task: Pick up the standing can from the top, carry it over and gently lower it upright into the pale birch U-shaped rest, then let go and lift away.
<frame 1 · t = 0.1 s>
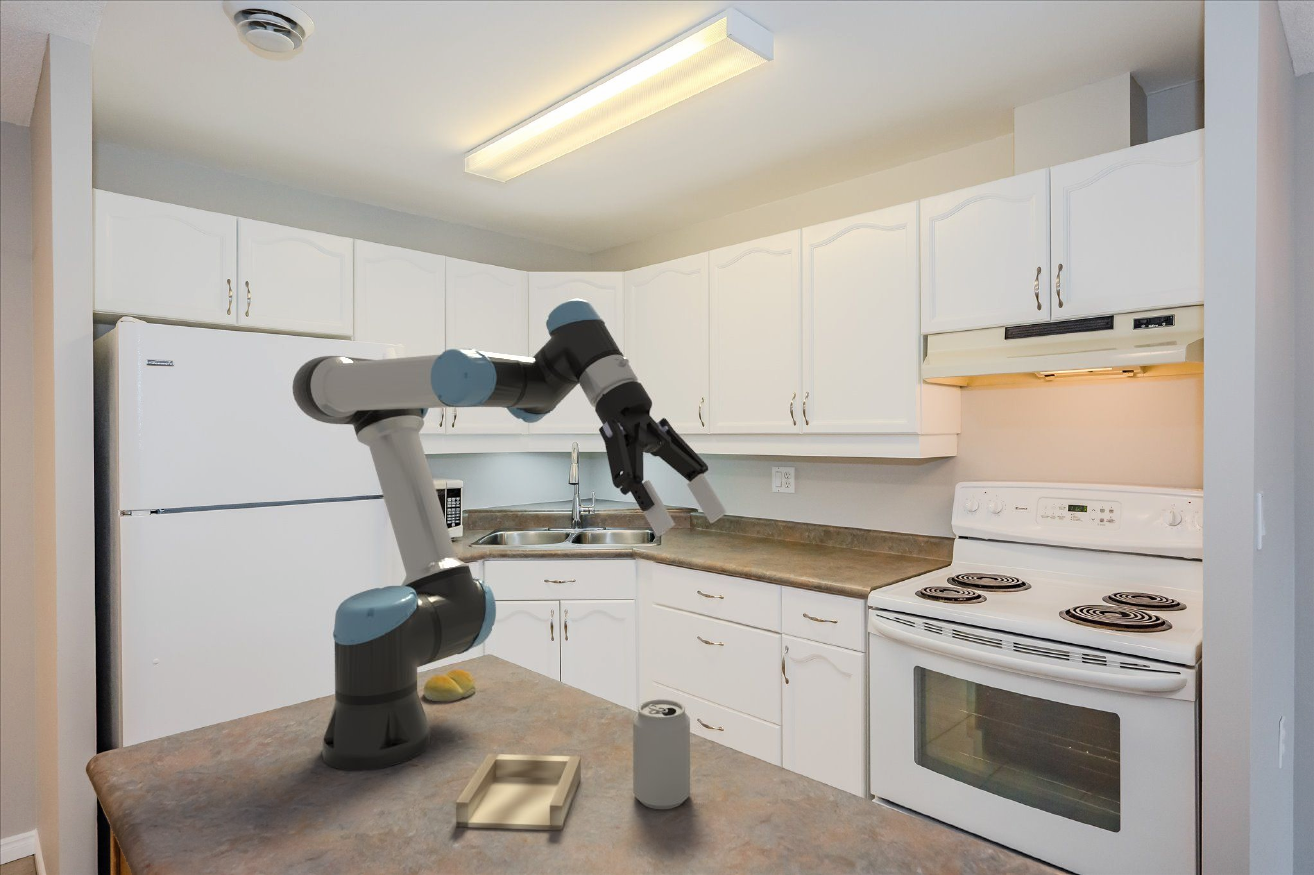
hand: (694, 524, 94), 36 cm above the countertop, tool tilted 35°, fingers open, 13 cm apart
can: (661, 799, 94), on the countertop
can rest: (522, 800, 93), on the countertop
bread roll: (450, 695, 132), on the countertop
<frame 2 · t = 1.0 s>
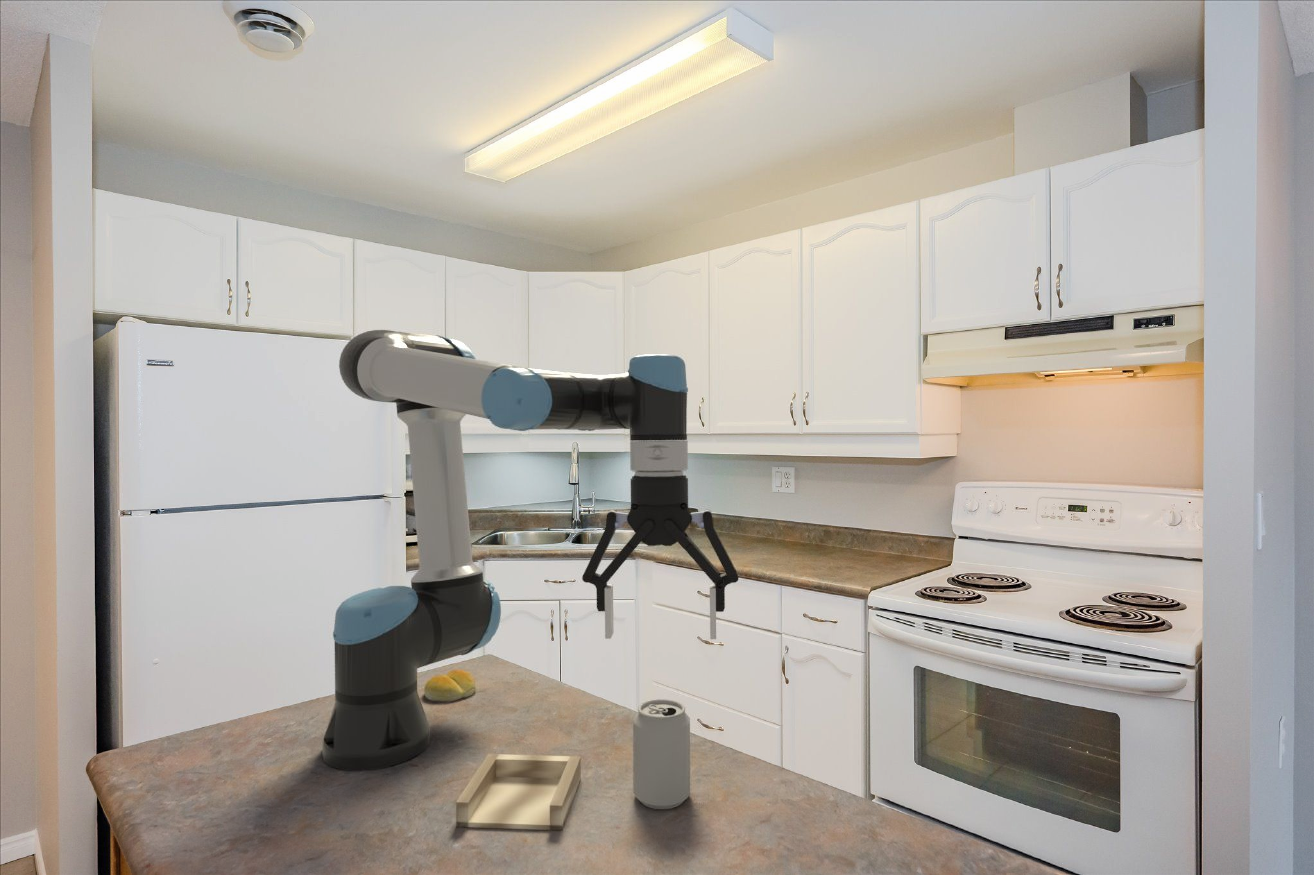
hand: (661, 636, 94), 21 cm above the countertop, tool pointing down, fingers open, 13 cm apart
nothing on the countertop moved.
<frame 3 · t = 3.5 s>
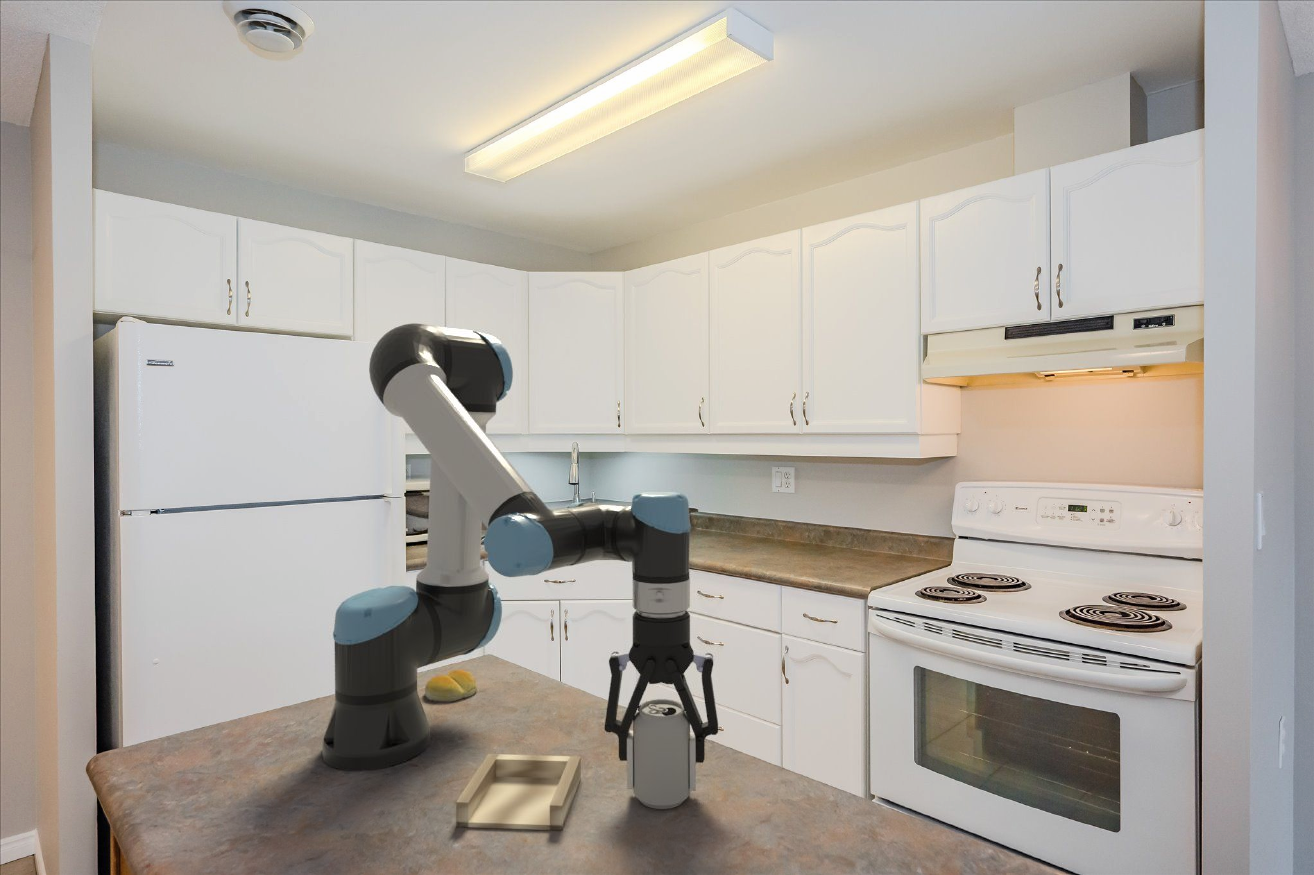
hand: (661, 784, 94), 2 cm above the countertop, tool pointing down, fingers closed on can, 7 cm apart
can: (661, 798, 94), on the countertop, touching gripper
everything else where it was.
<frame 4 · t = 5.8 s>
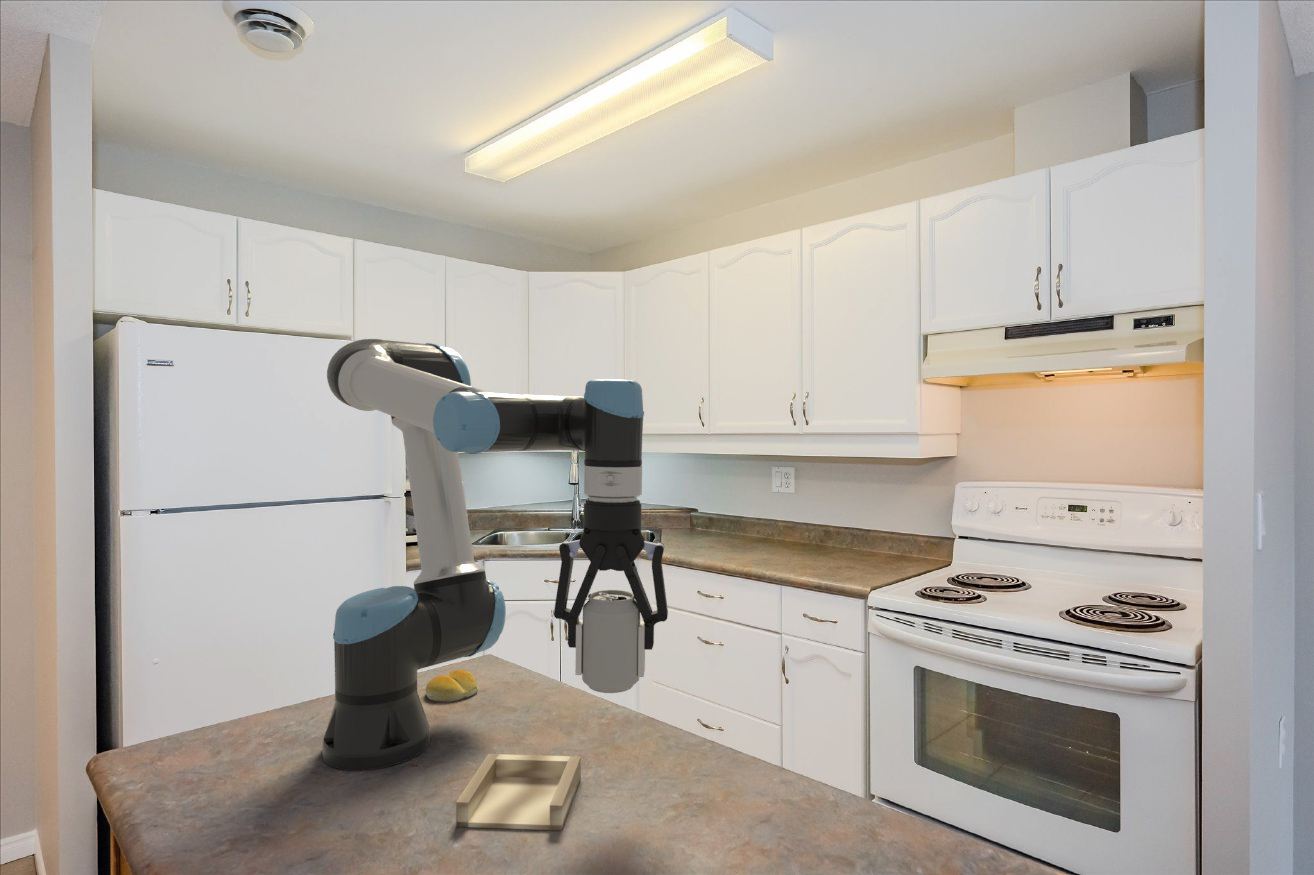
hand: (610, 672, 94), 16 cm above the countertop, tool pointing down, fingers closed on can, 7 cm apart
can: (610, 686, 94), point 15 cm above the countertop, touching gripper
everything else where it was.
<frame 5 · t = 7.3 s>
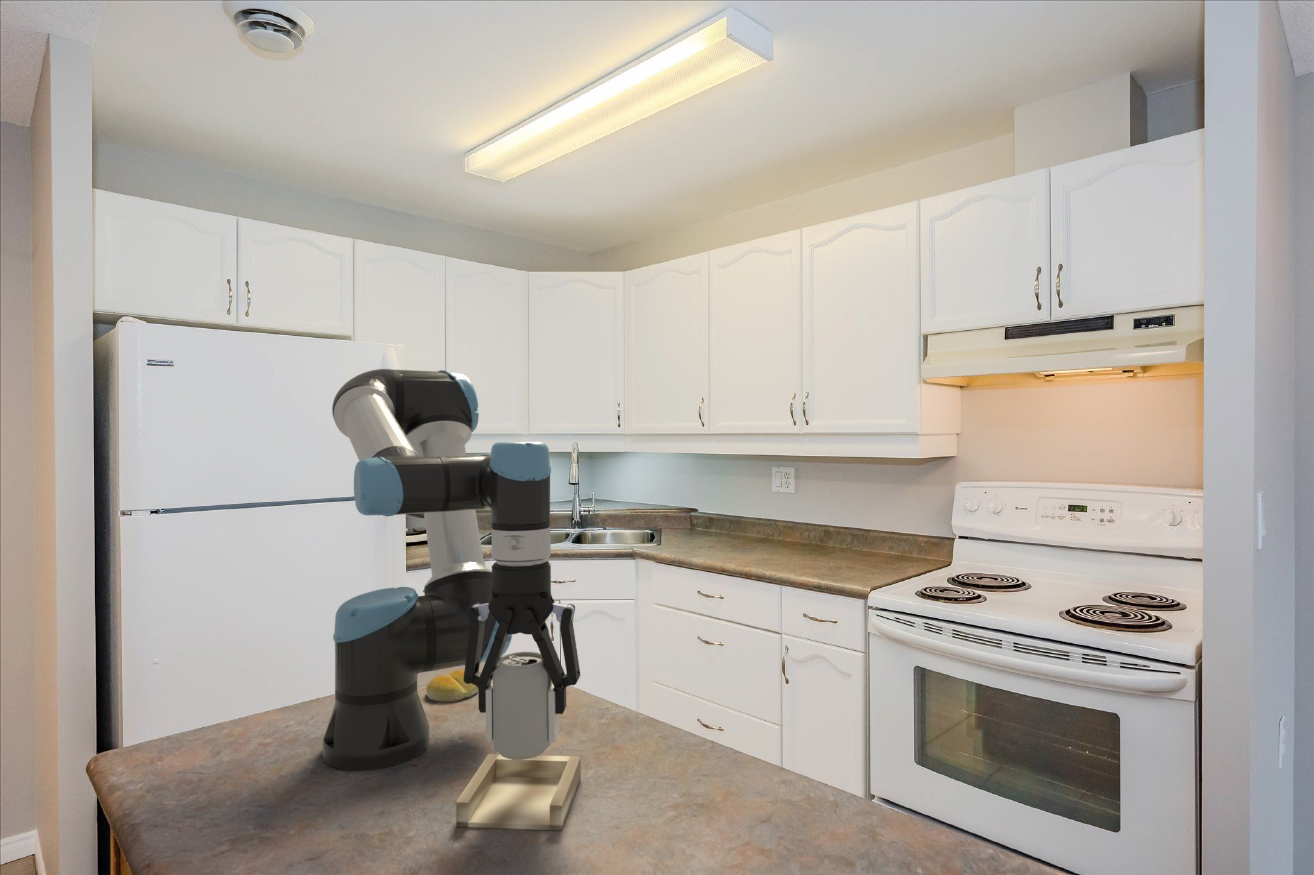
hand: (522, 736, 93), 8 cm above the countertop, tool pointing down, fingers closed on can, 7 cm apart
can: (522, 751, 93), point 7 cm above the countertop, touching gripper
everything else where it was.
when the fingers open (5 cm above the countertop, at t = 8.4 s): can drops 2 cm, resting on can rest.
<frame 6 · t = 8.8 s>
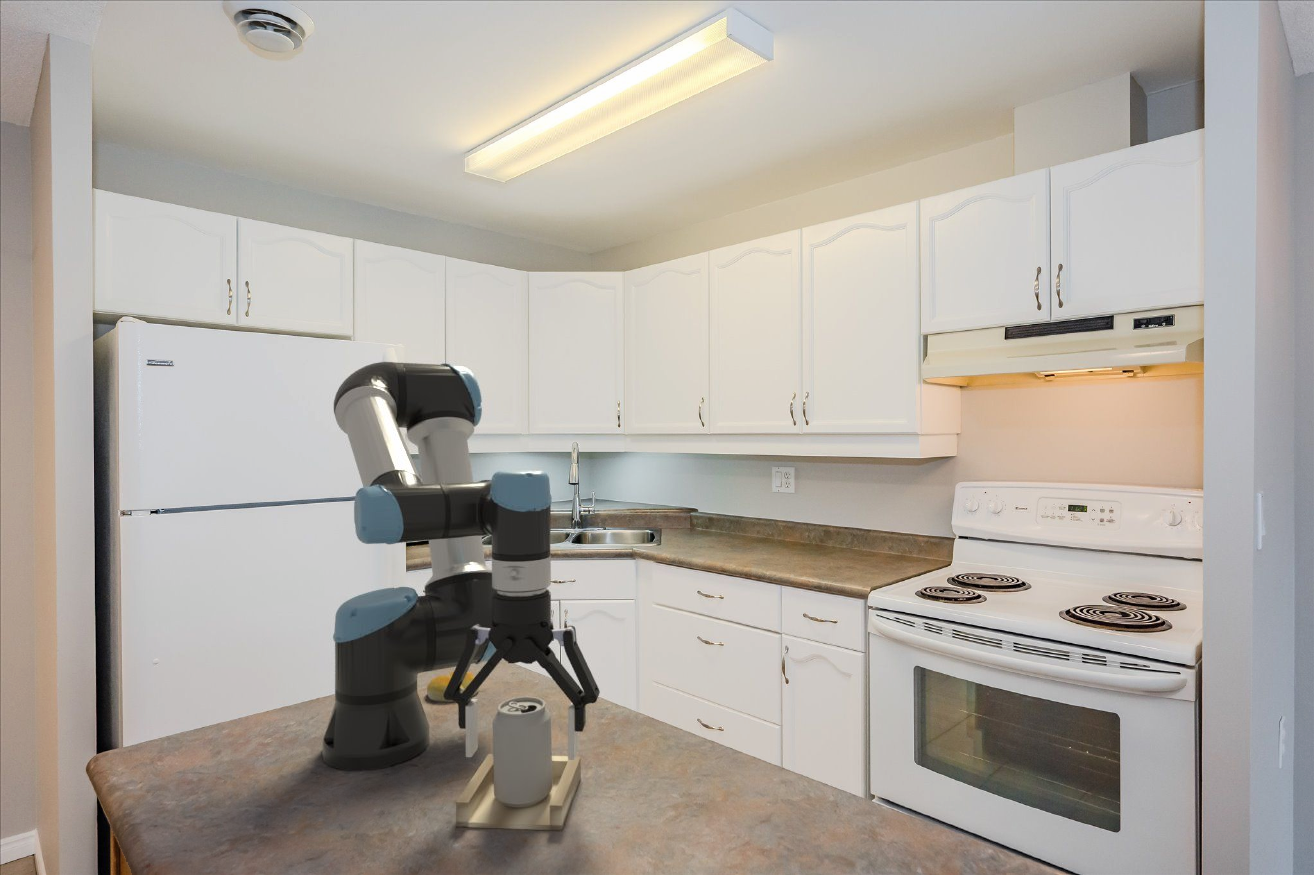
hand: (522, 754, 93), 6 cm above the countertop, tool pointing down, fingers open, 13 cm apart
can: (523, 797, 93), resting on can rest
everything else where it was.
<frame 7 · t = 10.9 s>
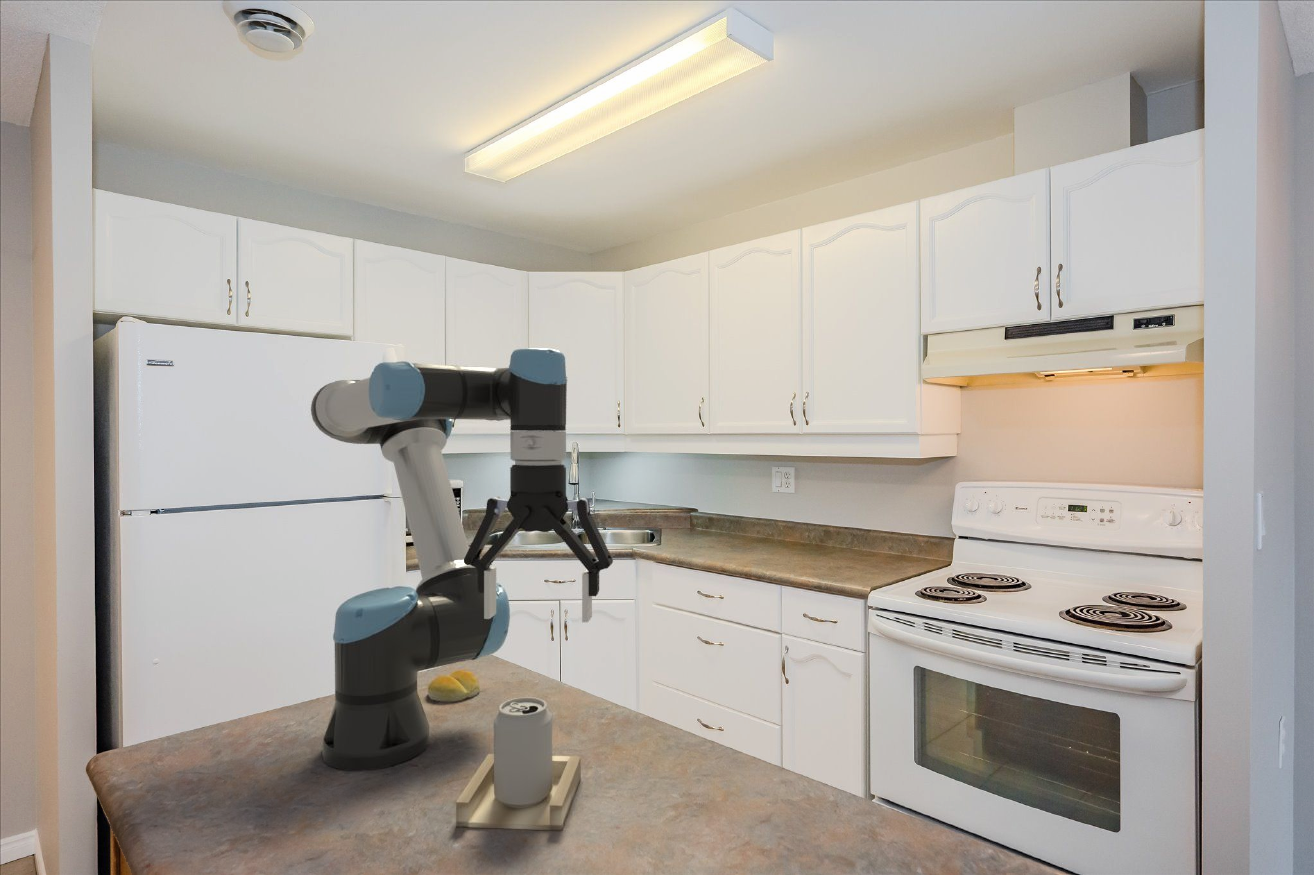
hand: (538, 618, 98), 22 cm above the countertop, tool pointing down, fingers open, 13 cm apart
nothing on the countertop moved.
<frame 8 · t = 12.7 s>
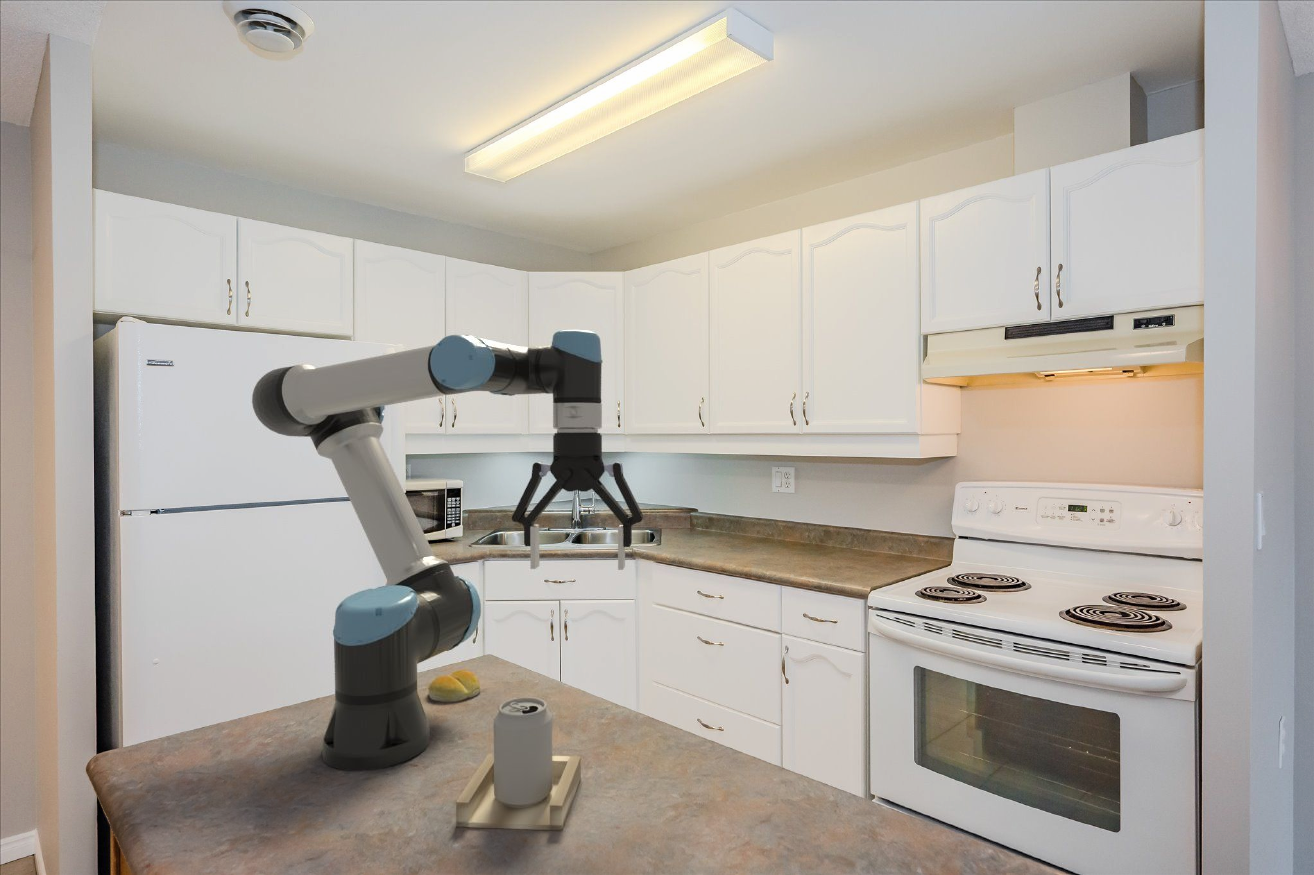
hand: (578, 567, 111), 27 cm above the countertop, tool pointing down, fingers open, 13 cm apart
nothing on the countertop moved.
at the end: can 0.5 cm off-centre on the can rest, point 0.4 cm above the can rest's base; can tilted 0°; the gripper is holding nothing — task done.
